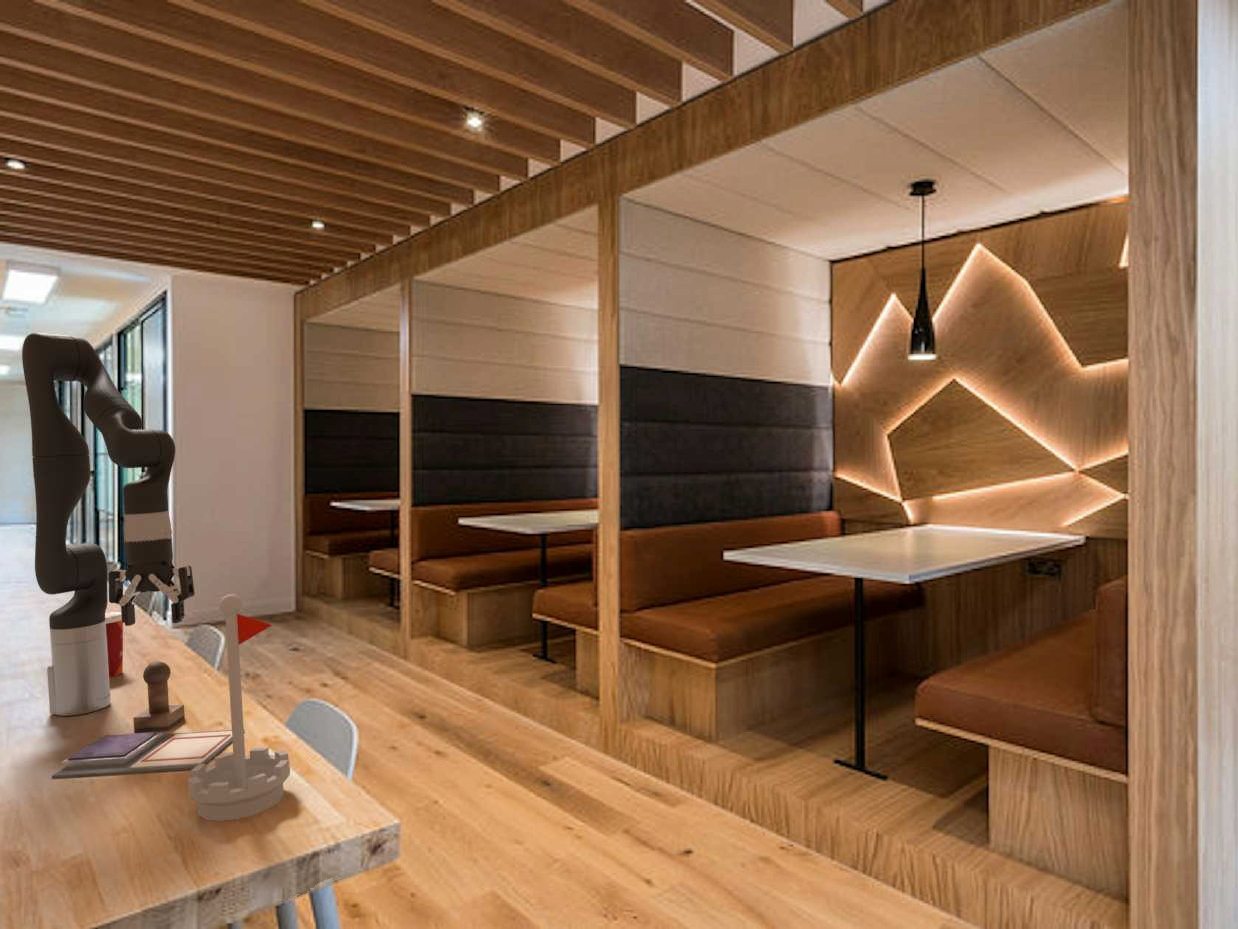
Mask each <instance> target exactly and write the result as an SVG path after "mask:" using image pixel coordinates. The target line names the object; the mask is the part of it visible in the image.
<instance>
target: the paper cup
mask: <svg viewBox="0 0 1238 929" xmlns="http://www.w3.org/2000/svg"><path fill="white" fill-rule="evenodd" d="M105 621H106V636H107V652H108V668H109V678H111V677H110V676H112V677H117V676H118V674H119V675H121V674H122V673H123V671H124V670H123V667H124V659H123V658H124V623H123V622H122V615H121V612H120V611H119V612H118V611H115V612H113V611H111V612H105ZM120 673H121V674H120Z"/></svg>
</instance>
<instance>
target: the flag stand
mask: <svg viewBox="0 0 1238 929" xmlns="http://www.w3.org/2000/svg"><path fill="white" fill-rule="evenodd" d="M242 602H243V601H242V599H241V597H239V595H236V594H235V593H234V594H233V593H231V594H229V593H228V594H226V595H223V597H222V598H221V599H220V600H219V603H218V606H219V610H220V611H221V613H223V615H224V618H225V619H224V620H225V633H226V634H225V635H226V636H225V638H226V651H227V652H226V653H227V654H226V655H227V670H228V671H227V672H228V686H229V687H228V688H229V703H230V704H229V705H230V706H229V708H230V719H231V720H230V722H231V730H232V751H229V752H226V753H223V754H220V755H217V756H215V757H214V758H213V759H214V765H211V766H209V767H207V764H199V765H198V766H196V767H195V768H193V769H192V770H189V777H188V778H187V786H188V795H189V797H190V798H191V799H192V800H193V801H195V802H197V810H198V816H199V817H200V816H201V817H200V818H202V819H203V818H206V819H207V821H210V820H215V821H214V822H225V821H224V820H230V821H234V820H233V819H236V820H238V819H237V818H241V819H245V818H249V817H251V816H255V815H257V814H260V813H262V812H263V813H264V812H265V811H267V810H269V809H271V808H272V807H274V806H275V805H277V804H278V803H279V802H280V801H281V800H282V799H283V797H284V783H285V782H286V780H288V778H289V777H290V775H291V764H290V759H289V758H290V757H289V753H288V752H287V751H286V750H284V749H278V750H276V751H274V755H272V754H269V747H253V748H252V747H251V748H250V749H249V756H246V747H245V728H244V727H245V726H244V713H243V695H242V679H241V675H242V674H241V658H240V645H241V644H243V643H244V642H247V641H248V640H249V639H252V638H253V637H254V636H255V637H256V635H259V634H260V633H261V632H263V631H265V630H267V629H268V628H270V627H271V626H273V624H270V623H267V622H264V621H261V620H258V619H255V618H251V617H248V616H245V615H242V614H239V612H240V610H241V609H242V606H243V603H242ZM248 816H249V817H248ZM244 817H245V818H244ZM206 819H205V820H206Z"/></svg>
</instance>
